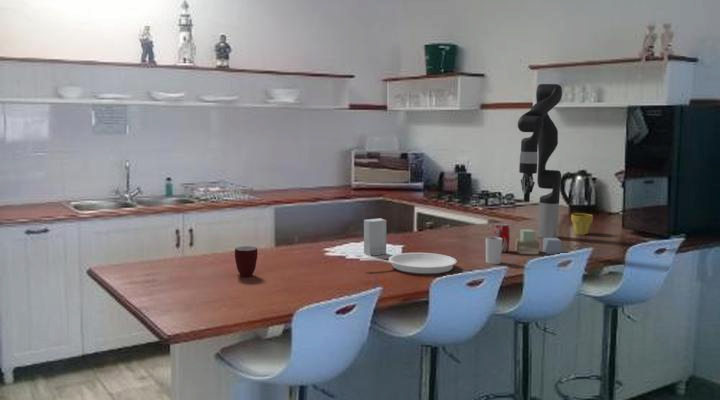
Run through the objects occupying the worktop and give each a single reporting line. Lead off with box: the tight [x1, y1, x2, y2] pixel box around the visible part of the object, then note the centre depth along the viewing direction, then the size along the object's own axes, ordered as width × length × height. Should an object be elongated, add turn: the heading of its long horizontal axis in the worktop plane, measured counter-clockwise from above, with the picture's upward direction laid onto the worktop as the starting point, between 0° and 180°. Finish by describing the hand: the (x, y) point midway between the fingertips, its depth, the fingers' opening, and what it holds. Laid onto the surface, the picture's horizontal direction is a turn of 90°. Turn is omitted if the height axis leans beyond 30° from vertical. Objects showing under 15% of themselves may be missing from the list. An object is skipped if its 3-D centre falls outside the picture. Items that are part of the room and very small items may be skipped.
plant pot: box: [570, 212, 594, 236], centre depth 336 cm, size 10×10×10 cm
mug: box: [234, 245, 258, 278], centre depth 239 cm, size 11×8×10 cm
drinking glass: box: [485, 236, 502, 265], centre depth 265 cm, size 7×7×10 cm
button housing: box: [514, 238, 540, 255], centre depth 287 cm, size 8×8×5 cm
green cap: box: [519, 228, 536, 242], centre depth 287 cm, size 5×5×5 cm
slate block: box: [542, 237, 562, 255], centre depth 288 cm, size 6×6×6 cm
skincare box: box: [363, 217, 387, 256], centre depth 278 cm, size 8×6×15 cm
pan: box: [359, 252, 458, 275], centre depth 253 cm, size 26×39×5 cm
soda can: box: [492, 222, 511, 253], centre depth 289 cm, size 7×7×12 cm
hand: (526, 201), depth 288 cm, fingers closed
